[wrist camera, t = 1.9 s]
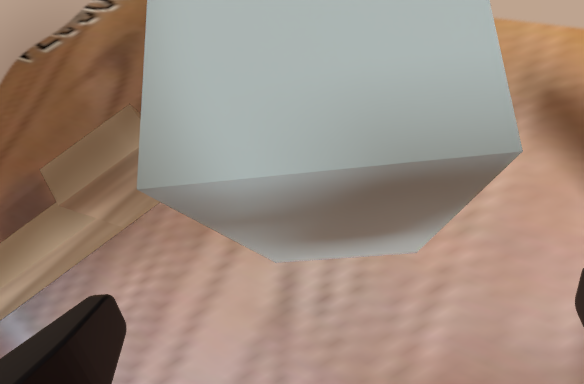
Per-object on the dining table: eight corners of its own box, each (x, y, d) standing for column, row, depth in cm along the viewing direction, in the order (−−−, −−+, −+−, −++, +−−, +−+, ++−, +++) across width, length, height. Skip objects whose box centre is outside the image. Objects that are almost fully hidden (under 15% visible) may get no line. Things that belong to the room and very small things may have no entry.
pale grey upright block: (416, 252, 19) (522, 151, 7) (275, 262, 20) (136, 189, 7) (400, 133, 21) (460, -129, 8) (271, 147, 22) (151, -70, 9)
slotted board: (197, 174, 22) (151, 137, 17) (-87, 384, 21) (-217, 407, 16) (178, 147, 22) (129, 104, 18) (-98, 350, 22) (-226, 362, 17)
